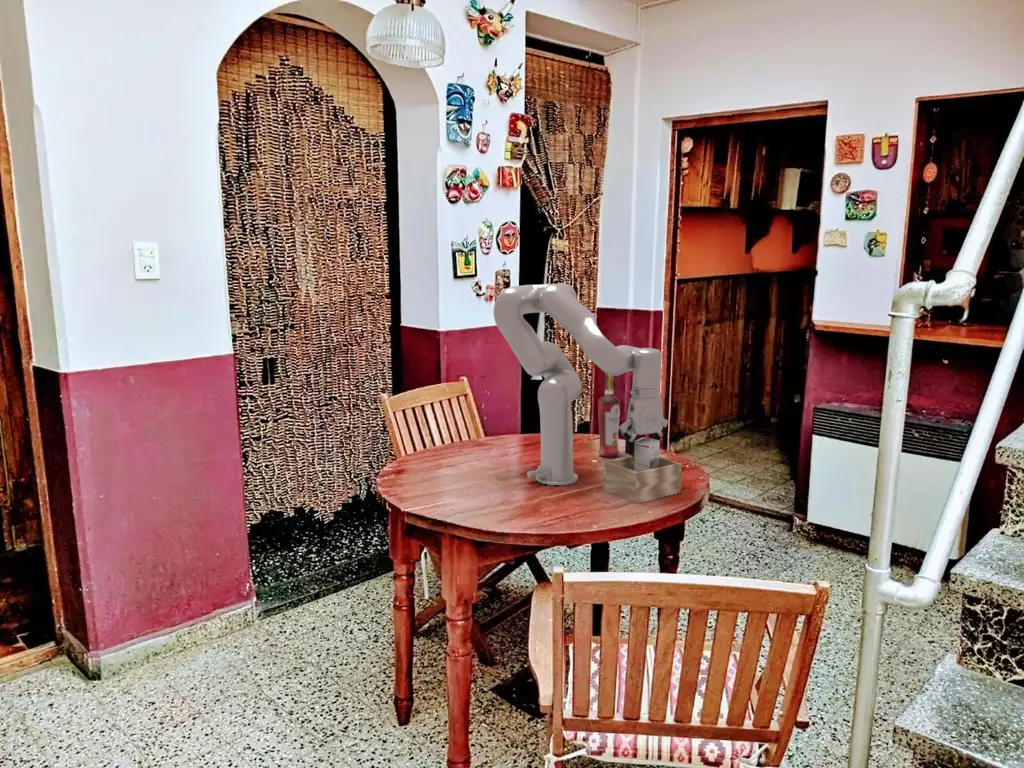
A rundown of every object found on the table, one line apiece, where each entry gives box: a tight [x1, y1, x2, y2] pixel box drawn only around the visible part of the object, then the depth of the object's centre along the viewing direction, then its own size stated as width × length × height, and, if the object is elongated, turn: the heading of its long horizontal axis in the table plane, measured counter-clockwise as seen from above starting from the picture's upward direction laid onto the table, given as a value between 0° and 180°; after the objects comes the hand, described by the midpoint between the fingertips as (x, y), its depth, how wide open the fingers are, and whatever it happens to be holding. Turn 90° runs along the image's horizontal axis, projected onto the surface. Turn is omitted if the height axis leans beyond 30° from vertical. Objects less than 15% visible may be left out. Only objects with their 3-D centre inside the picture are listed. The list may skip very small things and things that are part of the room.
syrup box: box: [632, 437, 661, 472], centre depth 211 cm, size 6×6×14 cm
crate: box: [603, 455, 682, 504], centre depth 209 cm, size 16×14×8 cm
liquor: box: [597, 372, 621, 458], centre depth 246 cm, size 7×7×28 cm
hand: (642, 452), depth 211 cm, fingers open, 9 cm apart
